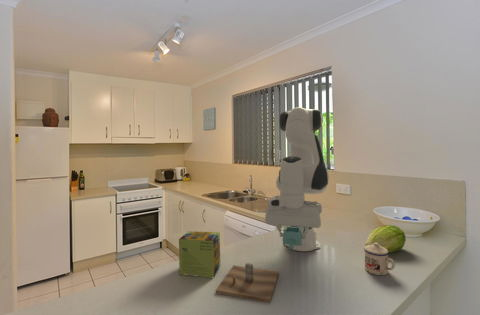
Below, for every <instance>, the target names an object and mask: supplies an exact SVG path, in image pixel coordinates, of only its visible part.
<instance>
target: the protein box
mask: <svg viewBox="0 0 480 315" xmlns="http://www.w3.org/2000/svg"><path fill="white" fill-rule="evenodd" d="M178 256H179V257H178V261H179V275H180V274H187V275H197V276H196V277H198V276H206V277H205V278H210V277H214V278H215V276H216V275H217V273H218V272H219V270H220V268H221V234H220V232H218V231H217V232H214V231H213V232H212V231H195V230H194V231H191V230H189V231H187V232H186V233H185V234H183V235H182V236H181V237H179V239H178ZM217 271H218V272H217Z"/></svg>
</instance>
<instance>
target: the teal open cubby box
mask: <svg viewBox="0 0 480 315" xmlns="http://www.w3.org/2000/svg"><path fill="white" fill-rule="evenodd" d="M282 231H283V237H282V245H284V244H287V245H289V247H288V250H293V249H294V245H298V246H302V227H290V226H284V228H283V230H282Z"/></svg>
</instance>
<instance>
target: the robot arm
mask: <svg viewBox="0 0 480 315" xmlns="http://www.w3.org/2000/svg"><path fill="white" fill-rule="evenodd" d="M323 122H324V117H323V114H322V111H321V110H320V109H317V108H313V109H309V108H307V109H306V108H303V107H300V106H299V107H298V106H297V107H293V108H292V109H291V110H289V111H287V110H285V111H283V112H281V113H280V114H279V117H278V126H279V128H280V130H281V131H283V132H285V138H286V140H287V141H288V143H290V156H288V157H287V156H286V157H283V158H282V159H281V163H280V169H279V171H278V176H277V178H276V182H275V184H276V188H277V190H278V191H279V193H280V194H278V195H275V196H272V197H270V198H269V199H268V202H267V205H268V206H267V208H266V210H265V219H264V220H265V221H264V222H265V224H267V225H270V226H276V229H277V231H278V232H279V237H282V238H283V230H282V229H281V227H282V226H284V227H285V226H290V227H302V246H298V245H294V249H292V251H298V252H310V251H312V252H313V251H314V250H318V249H321V245H320V243H319V241H318V239H317V232H316V230H315V228H316V229H319V228H320V227H321V226H322V222H321V220H322V219H321V213H323V212H322V210H323V207H322V204H321V203H319V202H318V201H311V200H309V201H307V200H305V195H321V194H323V193H324V192H325V191H326V189H327V187H328V185H329V180H330V179H329V178H330V176H329V172H328V169H327V168H326V167H327V166H326V163H325V160H324V155H323V150H322V146H321V142H320V140H319V137H318V135H317V134H316V132H317V131H319V129H320V128H321V127H322V124H323ZM283 246H285V247H287V248H289V245H287V244H283Z"/></svg>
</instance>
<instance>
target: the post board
mask: <svg viewBox="0 0 480 315" xmlns="http://www.w3.org/2000/svg"><path fill="white" fill-rule="evenodd" d="M279 275H280V271H279V270H273V269H267V268H265V269H264V268H256V267H254V264H253V263H251V262H248V263H245V265H244V266H243V265H232V267H231V268H230V270H229V271H228V273H227V274H226V275H225V277H224V278H223V279H222V281H221V282H220V283H219V285H218V286H217V288H216V289H215V294H217V293H220V294H219V295H222V294H225V295H224V296H228V295H230V296H229V297H234V296H235V298H240V297H241V298H240V299H248V300H252V301H258V302H264V303H271V301H272V298H273V294H274V291H275V287H276V285H277V282H278V279H279Z"/></svg>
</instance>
